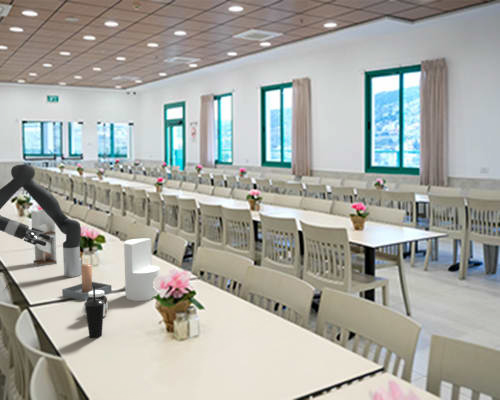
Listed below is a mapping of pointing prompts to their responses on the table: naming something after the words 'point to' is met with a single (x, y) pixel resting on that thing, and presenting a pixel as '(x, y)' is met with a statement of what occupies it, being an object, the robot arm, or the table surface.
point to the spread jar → (98, 295)
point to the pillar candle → (86, 278)
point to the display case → (47, 252)
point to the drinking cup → (94, 316)
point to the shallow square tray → (77, 293)
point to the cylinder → (139, 270)
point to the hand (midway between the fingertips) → (47, 241)
